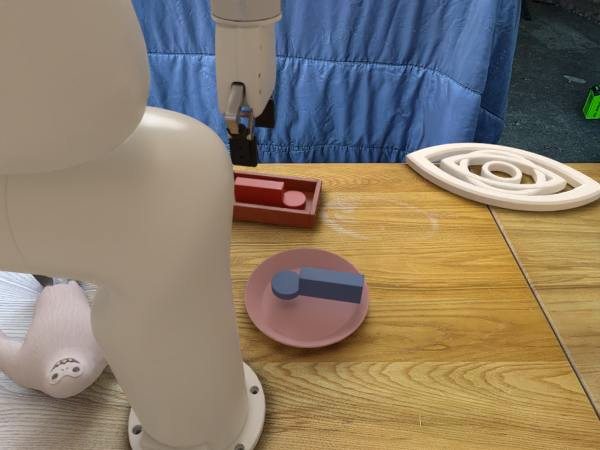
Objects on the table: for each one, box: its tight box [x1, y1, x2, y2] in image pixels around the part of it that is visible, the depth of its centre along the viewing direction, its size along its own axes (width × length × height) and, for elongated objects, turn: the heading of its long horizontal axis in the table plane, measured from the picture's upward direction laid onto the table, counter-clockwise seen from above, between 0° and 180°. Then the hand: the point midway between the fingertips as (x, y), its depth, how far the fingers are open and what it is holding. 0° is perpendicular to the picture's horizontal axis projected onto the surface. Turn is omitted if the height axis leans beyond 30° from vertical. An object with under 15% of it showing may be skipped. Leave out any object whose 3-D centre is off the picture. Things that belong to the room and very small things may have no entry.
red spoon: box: [234, 177, 306, 210], centre depth 64 cm, size 10×4×3 cm, turn 80°
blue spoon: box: [271, 267, 365, 304], centre depth 50 cm, size 10×4×3 cm, turn 80°
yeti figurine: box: [0, 274, 109, 399], centre depth 47 cm, size 20×7×20 cm
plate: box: [243, 247, 370, 349], centre depth 52 cm, size 14×14×2 cm
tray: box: [232, 169, 323, 230], centre depth 64 cm, size 14×8×3 cm, turn 80°
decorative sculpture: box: [405, 142, 600, 212], centre depth 70 cm, size 15×29×2 cm, turn 82°
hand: (254, 144), depth 58 cm, fingers open, 9 cm apart
